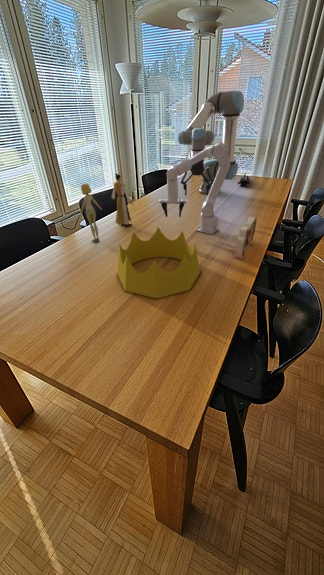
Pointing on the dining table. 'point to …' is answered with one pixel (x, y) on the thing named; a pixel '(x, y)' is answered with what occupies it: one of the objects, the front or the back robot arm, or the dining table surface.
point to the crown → (155, 278)
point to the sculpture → (90, 209)
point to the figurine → (121, 203)
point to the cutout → (245, 236)
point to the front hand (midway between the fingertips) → (173, 216)
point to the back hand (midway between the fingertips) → (196, 195)
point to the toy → (244, 181)
